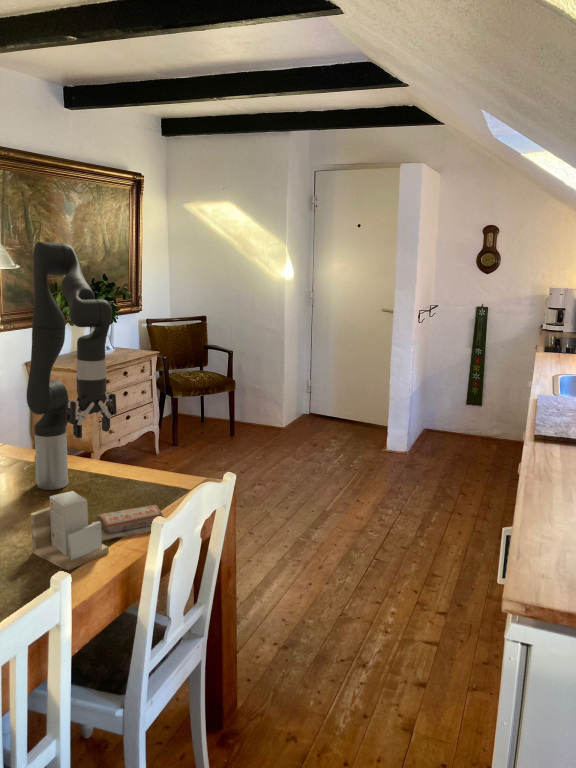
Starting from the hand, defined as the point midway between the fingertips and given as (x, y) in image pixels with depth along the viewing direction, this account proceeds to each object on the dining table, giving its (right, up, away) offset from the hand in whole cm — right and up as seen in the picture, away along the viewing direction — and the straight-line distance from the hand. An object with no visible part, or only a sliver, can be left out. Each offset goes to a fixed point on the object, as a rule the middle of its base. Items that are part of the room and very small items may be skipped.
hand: (92, 434), depth 174 cm
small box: (-2, -27, -13) cm, 30 cm away
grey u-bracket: (-2, -29, -12) cm, 31 cm away
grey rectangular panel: (+3, -28, -16) cm, 32 cm away
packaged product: (+9, -26, +3) cm, 28 cm away
